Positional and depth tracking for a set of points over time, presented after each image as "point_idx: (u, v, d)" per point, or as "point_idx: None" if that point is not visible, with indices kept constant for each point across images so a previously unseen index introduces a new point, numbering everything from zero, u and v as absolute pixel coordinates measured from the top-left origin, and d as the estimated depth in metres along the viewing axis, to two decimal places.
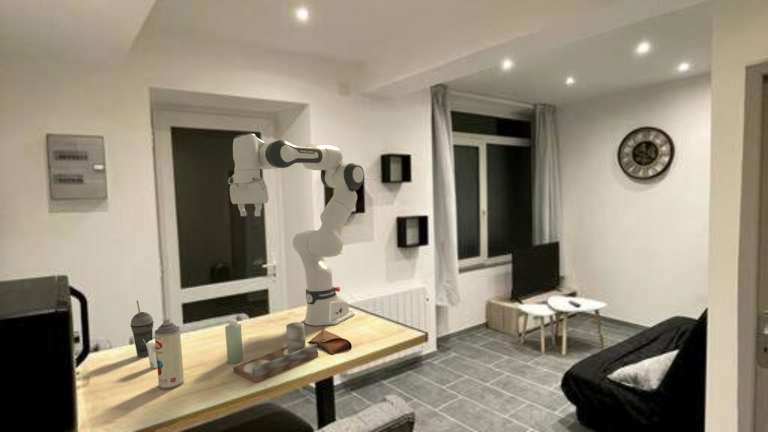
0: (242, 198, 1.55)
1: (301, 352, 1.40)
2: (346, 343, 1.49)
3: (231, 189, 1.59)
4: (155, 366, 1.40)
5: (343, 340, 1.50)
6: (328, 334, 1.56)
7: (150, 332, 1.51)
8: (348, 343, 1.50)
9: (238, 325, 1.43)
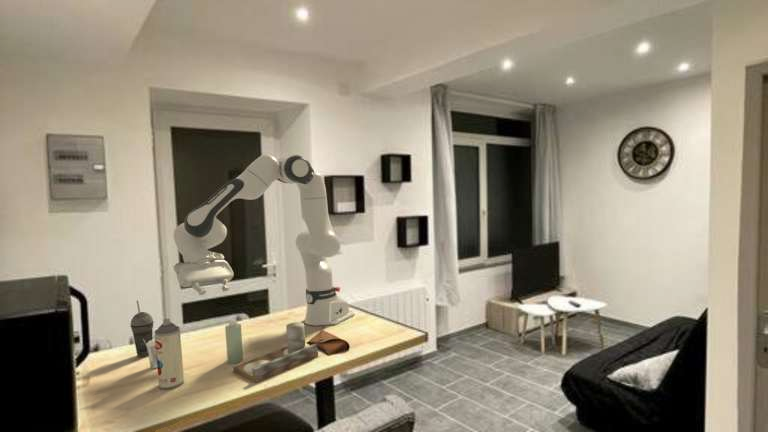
0: None
1: (301, 352, 1.40)
2: (344, 343, 1.49)
3: None
4: (155, 366, 1.40)
5: (341, 341, 1.50)
6: (326, 334, 1.55)
7: (150, 332, 1.51)
8: (346, 344, 1.49)
9: (238, 325, 1.43)
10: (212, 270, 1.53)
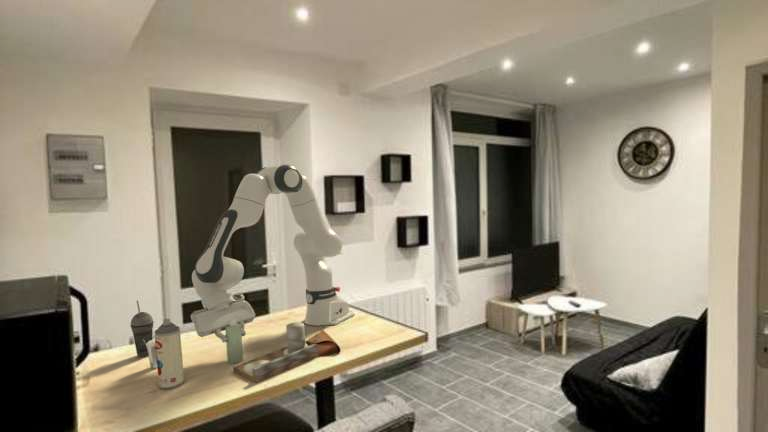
0: None
1: (301, 352, 1.40)
2: (334, 346, 1.47)
3: None
4: (155, 366, 1.40)
5: (332, 343, 1.48)
6: (322, 335, 1.54)
7: (150, 332, 1.51)
8: (336, 347, 1.47)
9: (238, 325, 1.43)
10: (231, 314, 1.47)
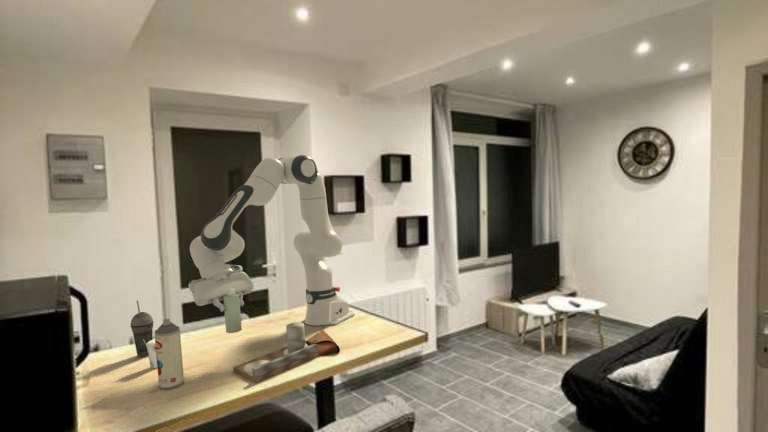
0: None
1: (301, 352, 1.40)
2: (334, 346, 1.47)
3: None
4: (155, 366, 1.40)
5: (332, 343, 1.48)
6: (322, 335, 1.55)
7: (150, 332, 1.51)
8: (336, 347, 1.47)
9: (236, 295, 1.43)
10: (229, 284, 1.46)
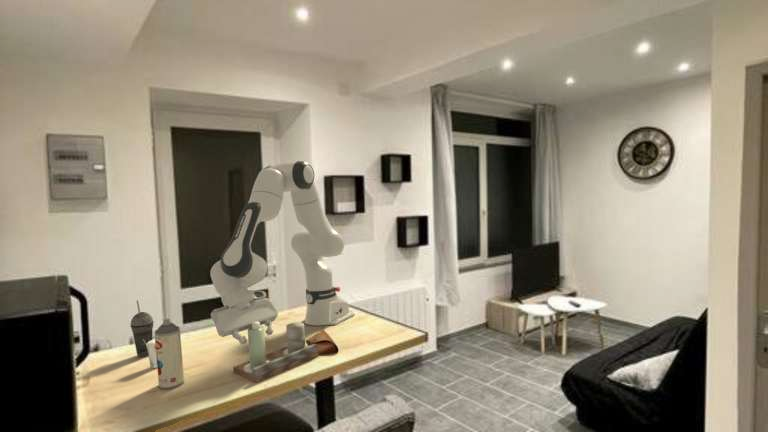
0: None
1: (301, 352, 1.40)
2: (332, 346, 1.47)
3: None
4: (155, 366, 1.40)
5: (330, 343, 1.48)
6: (322, 335, 1.55)
7: (150, 332, 1.51)
8: (334, 346, 1.47)
9: (261, 328, 1.34)
10: (253, 312, 1.37)
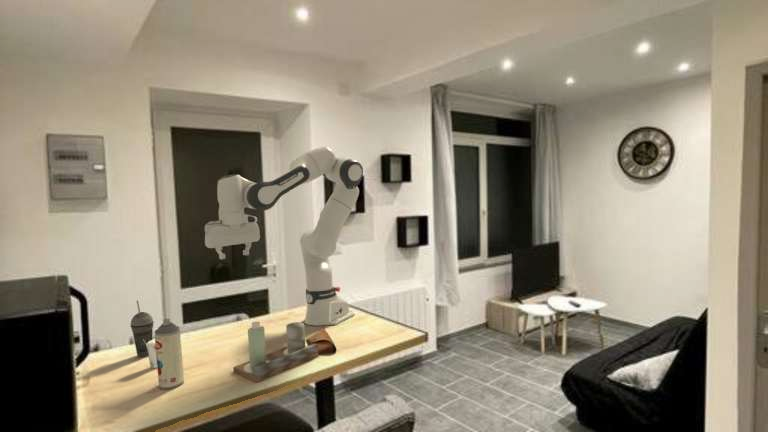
0: None
1: (301, 352, 1.40)
2: (330, 346, 1.47)
3: None
4: (155, 366, 1.40)
5: (329, 342, 1.48)
6: (321, 334, 1.56)
7: (150, 332, 1.51)
8: (332, 346, 1.47)
9: (261, 328, 1.34)
10: (240, 234, 1.56)
